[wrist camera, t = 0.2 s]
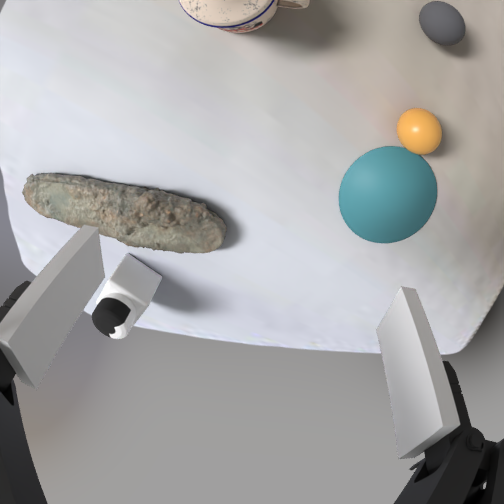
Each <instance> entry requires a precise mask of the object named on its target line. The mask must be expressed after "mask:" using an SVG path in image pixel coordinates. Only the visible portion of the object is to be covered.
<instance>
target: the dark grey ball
mask: <svg viewBox="0 0 504 504" xmlns="http://www.w3.org/2000/svg"><path fill="white" fill-rule="evenodd" d="M419 21H420V25H421V28H422V30H423V31H424V33H425V34H426V35H427V36H428V37H429V38H430V39H431V40H433V41H434V42H436V43H439V44H442V45H453V44H456V43H458V42H459V41H460V40H461V39H462V38H463V36H464V34H465V23H464V20H463V18H462V16H461V14H460V13H459V12H458V11H457V9H455V8H454V7H453V6H451V5H450V4H447V3H445V2H441V1H434V2H430V3H428V4H426V5H425V6H424V7H423V8H422V9H421V12H420V15H419Z"/></svg>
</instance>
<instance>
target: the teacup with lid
mask: <svg viewBox="0 0 504 504" xmlns="http://www.w3.org/2000/svg"><path fill="white" fill-rule="evenodd" d="M179 2H180V5H181V6H182V8H183V10H184V11H185V12H186V13H187V14H188V15H189V16H190V17H191V18H193V19H194V20H196V21H197V22H199V23H201V24H204V25H207V26H211V27H217V28H219V29H221V30H224V31H227V32H232V33H245V32H250V31H253V30H256V29H258V28H260V27H262V26H263V25H265V24H266V23H267V22H268V21H269V20H270V19H271V18H272V17H273V15H274V14H275V12H276V10H277V7H284V8H292V9H303V8H306V7H308V6H309V2H310V0H179Z"/></svg>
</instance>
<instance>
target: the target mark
mask: <svg viewBox="0 0 504 504" xmlns="http://www.w3.org/2000/svg"><path fill="white" fill-rule="evenodd" d="M436 198H437V185H436V180H435V176H434V174H433V172H432V170H431V168H430V166H429V165H428V163H427V162H426V161H425V160H424V159H423V158H422V157H421V156H419V155H418V154H415V153H412V152H410V151H409V150H407V149H406V148H402V147H396V146H387V147H381V148H377V149H374V150H371V151H369V152H367V153H365V154H364V155H363V156H361V157H360V158H358V159H357V160H356V161H355V162H354V163H353V164H352V165H351V167H350V168H349V169H348V171H347V172H346V174H345V176H344V178H343V180H342V183H341V186H340V191H339V206H340V211H341V214H342V217H343V219H344V221H345V223H346V224H347V225H348V227H349V228H350V229H351V230H352V231H353V232H354V233H355V234H357V235H358V236H359V237H361V238H363V239H365V240H368V241H371V242H375V243H393V242H397V241H400V240H403V239H405V238H407V237H410V236H411V235H413V234H414V233H416V232H417V231H418V230H419V229H420V228H421V227H422V226H423V225H424V224H425V223H426V222H427V220H428V219H429V217H430V216H431V214H432V211H433V209H434V206H435V203H436Z"/></svg>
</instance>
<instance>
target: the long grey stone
mask: <svg viewBox="0 0 504 504" xmlns="http://www.w3.org/2000/svg"><path fill="white" fill-rule="evenodd" d="M22 193H23V195H24V197H25V201H26V202H27V203H28V204H29V205H30V206H31V207H32V208H33V209H34V210H36V211H37V212H38V213H39V214H41V215H43V216H45V217H47V218H53V219H57V220H58V221H62V222H64V223H66V224H68V225H72V226H76V227H78V228H81V227H82V226H83V225H88V226H93V227H98V229H99V234H101V235H104V236H108V237H112V238H116V239H117V240H118V241H120V242H123V243H125V244H126V245H128V246H133V247H143V248H144V247H146V248H152V249H153V250H163V251H172V252H173V251H174V252H177V253H184V252H186V253H208V252H211V251H214V250H216V249H218V248H219V247H220V246H221V245H222V244H223V240H224V238H225V234H226V230H227V228H226V226H225V224H224V222H223V220H222V219H221V218H219V217H218V215H217V214H216V213H214V212H213V211H210V210H209V209H207V205H206V204H204V203H201V204H199V203H197V202H193V201H192V200H191V199H189V198H183V197H179V196H177V195H174V194H169V193H166V192H165V191H163V190H162V191H160V190H159V188H156V189H152V190H150V189H147V188H146V187H144V188H139V187H136V186H128V185H123V184H116V183H106V182H102V181H100V180H97V179H92V178H89V179H85V178H83V177H82V176H71V175H58V174H54V173H53V174H52V173H49V174H48V173H47V174H43V173H41V174H38V175H36V176H34V175H33V174H31V175H30V176H29V177H28V178H27V183H26V184H25V185H24V189H23V192H22Z"/></svg>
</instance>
